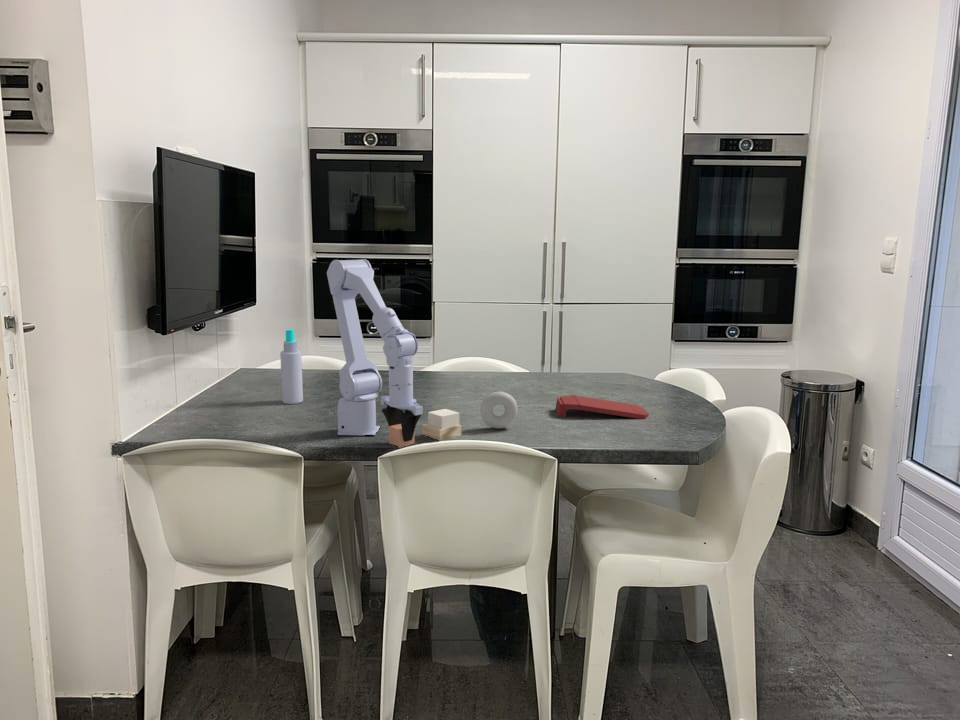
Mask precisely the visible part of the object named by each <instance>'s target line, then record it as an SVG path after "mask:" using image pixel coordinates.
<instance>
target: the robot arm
mask: <svg viewBox="0 0 960 720" xmlns="http://www.w3.org/2000/svg"><path fill="white" fill-rule="evenodd" d="M326 276H327V280H328V287H329V291H330V294H331V295H332V299H333V300H332V301H333V305H334V310H335V314H336V319H337V324H338V328H339V334H340V339H341V341H342V342H341V343H342V348H343V352H344V353H343V354H344V358H345V364H344V365H343V366H342V368H340V370H339V371H338V375H339V385H338V386H339V391H340V393H341V395H342V396H343V397H340V398H339V399H338V403H337V436H365V435H374V436H375V435H376V434H377V433H378V431H379V430H380V429H381V426H380V425H377V412H376V411H377V407H376V405H377V404H376V399H377V398H378V397H379V393H380V392H382V391H381V390H383V389H382V387H383V379H382V376H381V375H380V372H379V371H378V367H377V364H376V363H375V362H373V361H372V360H370V359H369V358H368V356H367V355H368V354H367V351H366V347H365V342H364V336H363V333H362V328H361V327H362V326H361V324H360V323H361V322H360V319H359V313H358V309H357V305H356V298H357V295H360V296H361V298H362V300H364V303H366V305H367V306H368V308H369V310H371V313H372V314H373V315H372V323H373V325H374V326H375V329H376V330H377V331H378V332H377V333H379V335H380V338H382V341H383V342H384V344H383V345H382V350H383V353H384V355H385V357H386V359H385V361H386V364H387V366H388V393H389V395H385V396H380V405H381V406H386V407H385V408H382V409H381V411H382V413H383V415H384V417H385V420H386V422H387V424H388V427H389V426H393V425H398V424H401V427H402V436H403V440H404V441H405V442H406V441H411V440H412V438H413V434H414V435H415V429H416V426H417V424H418V421H419V420H420V418H421V416H422V415H423V413H424V411H423V410H424V408H423V407H424V406H422V405H421V404H419V403H417V399H415V398H414V367H413V365H414V364H413V363H414V361H413V359H414V356H415V355H416V354H417V352H418V349H419V343H418V340H417V338H416V335H415V334H414V333H413V332H410V331H409V330H408V329H406V328H405V327H404V326H403V323H401V320H400V319H399V318H398V315H397V314H396V312H395V310H394V309H393V308H391V307H387V305H386V304H385V302H384V300H383V297H382V296H381V293H380V291H379V289H378V287H377V285H376V283H375V281H374V277H375V270H374V269H373V268H372V265H371V263H370V261H369V260H367V259H365V258H362V259H345V260H343V259H340V260H339V259H333V260H332V261H331V262H330V264H329V266H328V269H327V271H326ZM379 428H380V429H379ZM376 432H377V433H376Z"/></svg>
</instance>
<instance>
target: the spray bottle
mask: <svg viewBox="0 0 960 720" xmlns="http://www.w3.org/2000/svg"><path fill="white" fill-rule="evenodd" d="M279 354H280V355H279V356H280V375H281V400H282V403H283V404H286V405H298V404H302V402H304V393H303V392H304V390H303V368H302V366H303V365H302V362H303V361H302V351H301V350H299V349H298V340H296V339H295V329H292V328H290V329H285V341H283V350H282V351H280V353H279Z"/></svg>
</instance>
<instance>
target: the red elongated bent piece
mask: <svg viewBox="0 0 960 720" xmlns="http://www.w3.org/2000/svg"><path fill="white" fill-rule="evenodd" d="M568 410H579V411H586V412H591V413H593V412H594V413H599V414H606V415H611V416H620V417H625V418H631V419H638V420H646V419H647V418H649V414H650V413H649V411H647V410H646V409H645V408H644V407H642V406H640V405H637V404H632V403H626V402H620V401H613V400H607V399H601V398H594V397H588V396H582V395H576V394H575V395H574V394H573V395H561V396H559V397H558V396H557V399H556V403H555V409H554V411H555V412H556V415H557V417H558V418H559V417H560V418H565V417H567V411H568Z"/></svg>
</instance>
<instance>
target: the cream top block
mask: <svg viewBox="0 0 960 720" xmlns="http://www.w3.org/2000/svg"><path fill="white" fill-rule="evenodd" d="M427 419H428V420H427V424H428V425H431V426H434V427H437V428H440V429H445V428H449V427H454V426H458V425H460V412H458V411H455V410H451V409H449V408H442V409H438V410H432V411H429V412H427Z"/></svg>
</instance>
